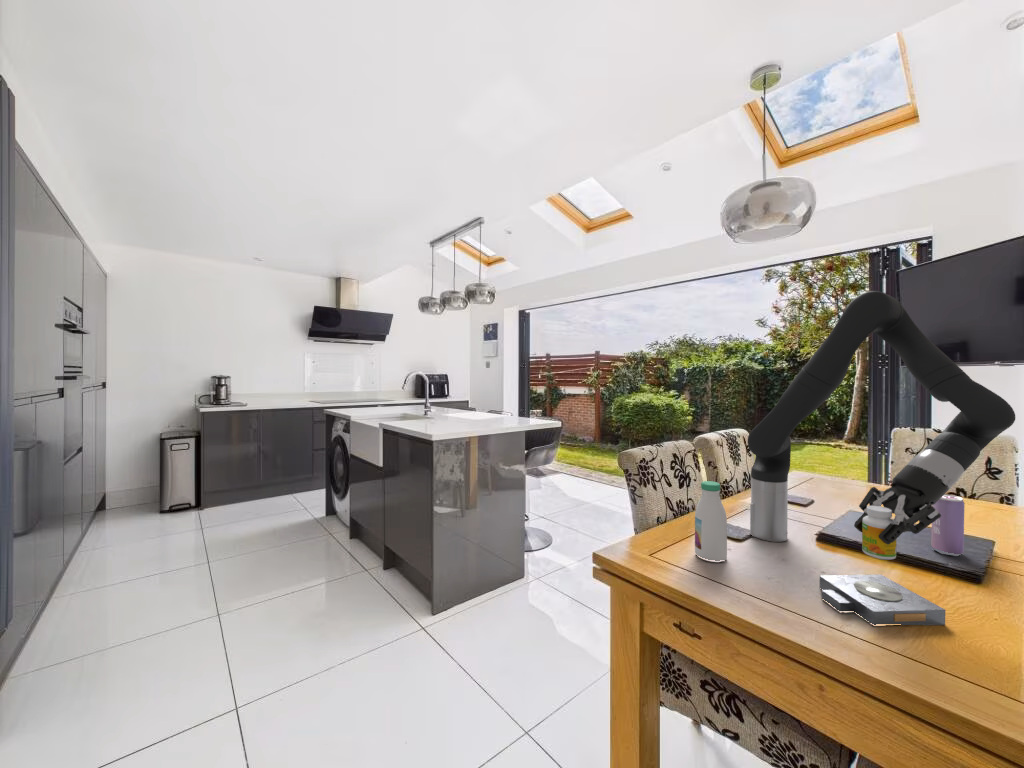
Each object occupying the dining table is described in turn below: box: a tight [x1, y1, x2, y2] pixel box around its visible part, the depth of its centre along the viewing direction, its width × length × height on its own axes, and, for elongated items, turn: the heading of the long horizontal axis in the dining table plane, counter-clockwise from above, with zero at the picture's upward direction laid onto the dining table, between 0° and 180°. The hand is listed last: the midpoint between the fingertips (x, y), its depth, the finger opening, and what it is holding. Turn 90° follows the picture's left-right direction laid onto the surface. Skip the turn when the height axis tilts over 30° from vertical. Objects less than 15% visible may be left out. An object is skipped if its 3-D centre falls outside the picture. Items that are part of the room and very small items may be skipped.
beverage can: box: [930, 493, 965, 554], centre depth 112 cm, size 6×6×15 cm
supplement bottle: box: [861, 505, 898, 561], centre depth 87 cm, size 5×5×10 cm
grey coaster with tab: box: [819, 573, 946, 626], centre depth 88 cm, size 17×14×3 cm
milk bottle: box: [694, 480, 728, 561], centre depth 111 cm, size 8×8×20 cm
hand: (870, 534), depth 87 cm, fingers closed on supplement bottle, 5 cm apart
